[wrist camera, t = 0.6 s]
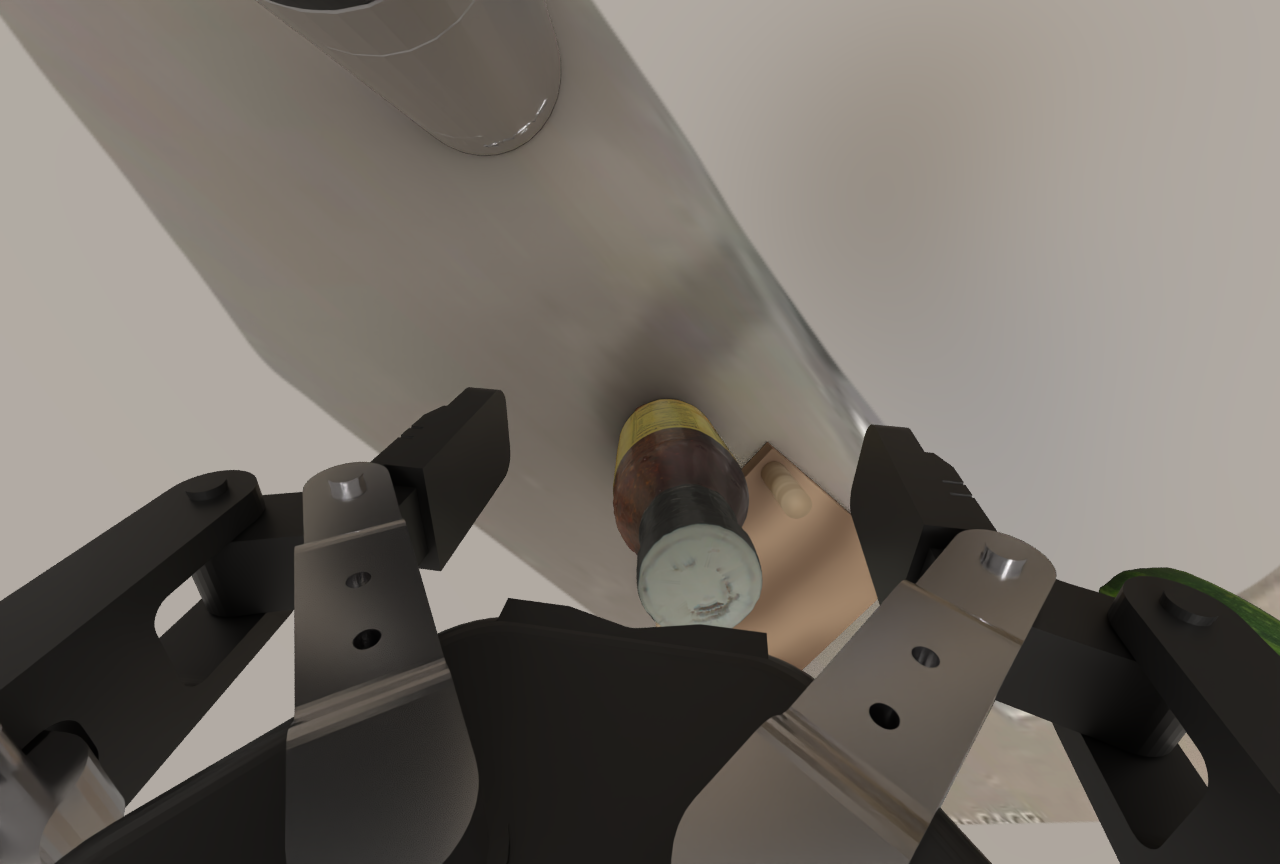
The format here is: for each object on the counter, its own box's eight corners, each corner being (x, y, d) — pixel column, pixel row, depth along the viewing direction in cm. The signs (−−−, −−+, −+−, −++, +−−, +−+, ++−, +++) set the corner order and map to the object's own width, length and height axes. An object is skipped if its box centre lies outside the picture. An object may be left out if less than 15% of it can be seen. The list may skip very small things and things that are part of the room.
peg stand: (640, 576, 39) (641, 636, 32) (767, 441, 37) (796, 476, 30) (772, 678, 41) (799, 754, 35) (900, 557, 39) (956, 613, 32)
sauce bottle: (700, 492, 38) (767, 703, 18) (610, 474, 37) (582, 669, 18) (724, 399, 36) (824, 524, 17) (630, 380, 36) (623, 484, 16)
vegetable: (1062, 569, 39) (1476, 840, 20) (1164, 533, 39) (1694, 776, 19) (1082, 652, 41) (1483, 976, 22) (1181, 619, 40) (1684, 922, 21)
